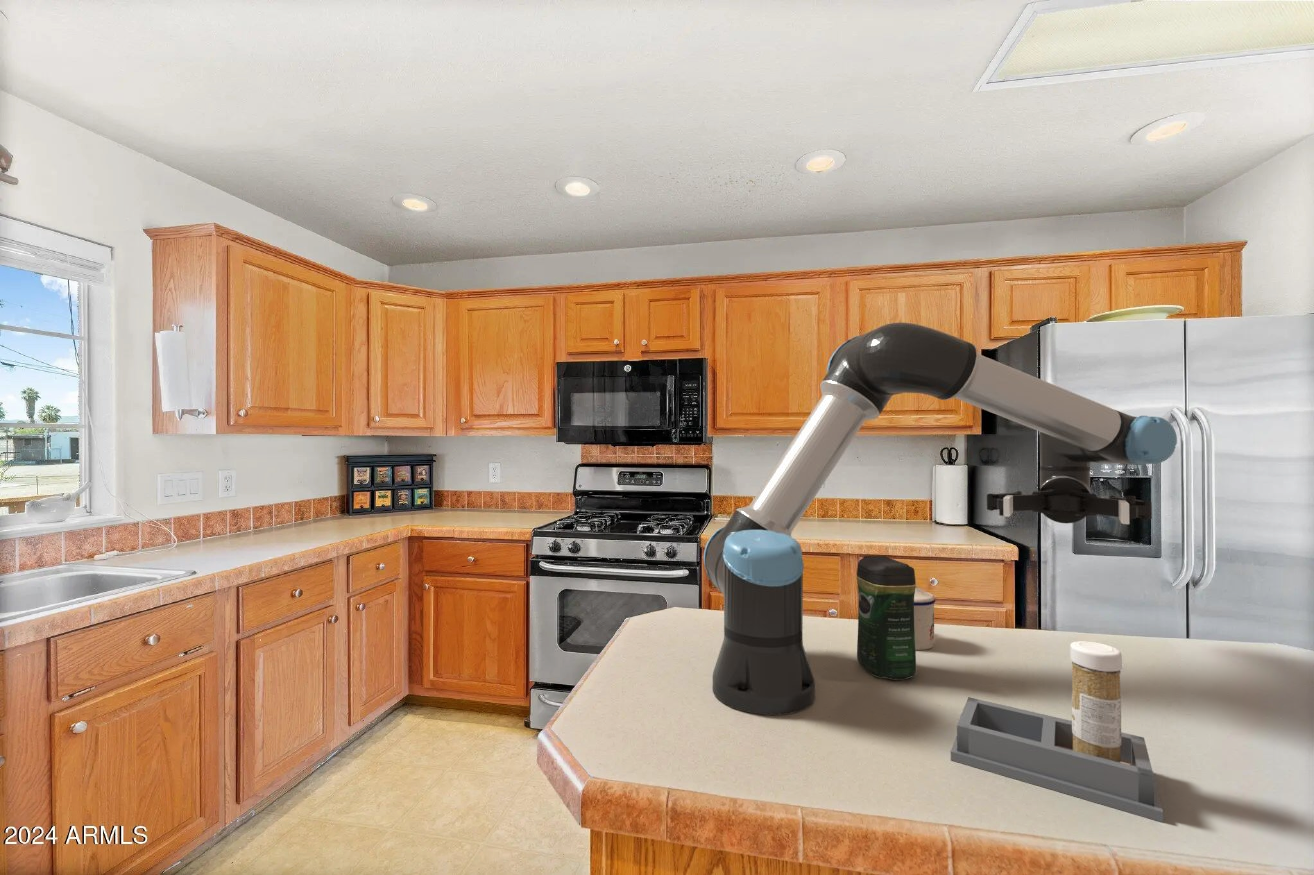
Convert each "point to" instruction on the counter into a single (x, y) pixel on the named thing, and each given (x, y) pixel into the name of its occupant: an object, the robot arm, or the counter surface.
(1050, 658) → the counter surface
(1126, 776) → the bottle caddy
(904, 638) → the coffee jar
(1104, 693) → the sprinkles bottle
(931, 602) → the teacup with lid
